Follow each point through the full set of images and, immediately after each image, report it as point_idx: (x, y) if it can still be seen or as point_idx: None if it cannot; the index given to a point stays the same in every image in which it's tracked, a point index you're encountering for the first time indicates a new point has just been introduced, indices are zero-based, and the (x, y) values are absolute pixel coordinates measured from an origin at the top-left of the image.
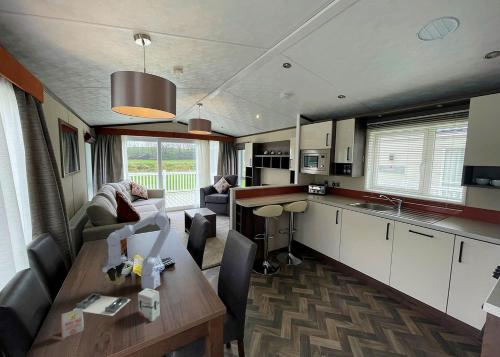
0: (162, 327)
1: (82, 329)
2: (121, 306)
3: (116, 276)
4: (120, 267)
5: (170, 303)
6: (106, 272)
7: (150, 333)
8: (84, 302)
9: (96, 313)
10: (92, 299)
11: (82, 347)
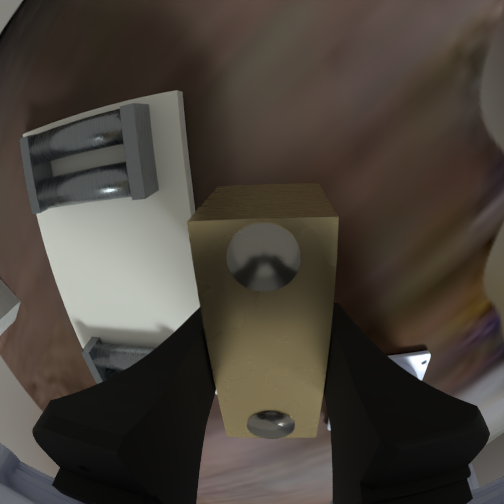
0: None
1: (5, 328)
2: None
3: (233, 399)
4: (335, 483)
5: (262, 482)
6: (88, 393)
7: None
8: (54, 159)
9: (64, 302)
10: (82, 197)
11: (8, 357)
